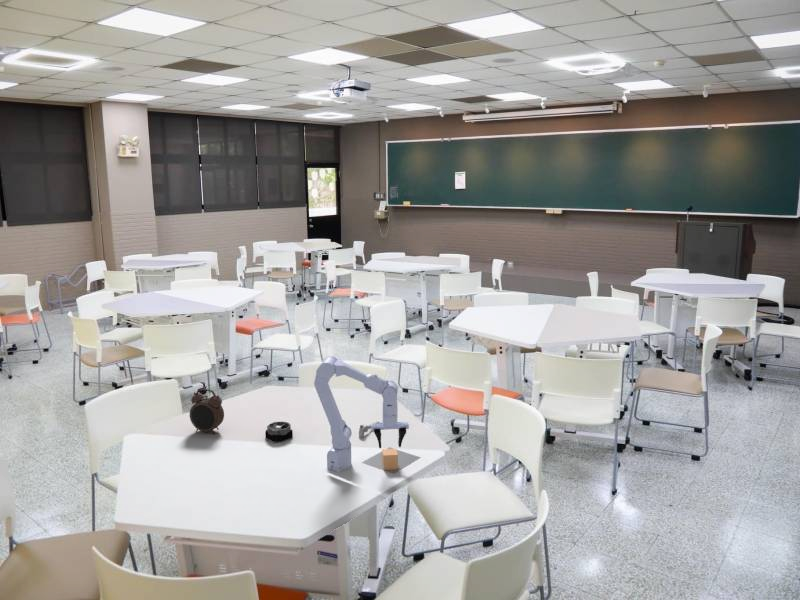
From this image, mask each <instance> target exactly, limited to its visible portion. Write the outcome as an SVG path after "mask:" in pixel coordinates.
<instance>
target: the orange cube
mask: <svg viewBox="0 0 800 600" xmlns="http://www.w3.org/2000/svg"><path fill="white" fill-rule="evenodd" d="M397 450H398V449H397V448H393V449H387V448H386V449H384V448H383V449H382V448H381V452H382V466H383V470H382V471H384V470H393V469H398V453H397Z"/></svg>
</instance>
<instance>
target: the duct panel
mask: <svg viewBox="0 0 800 600" xmlns="http://www.w3.org/2000/svg"><path fill="white" fill-rule="evenodd" d="M386 449H394V448H392V447H390V446H389V447H387V448H386ZM396 450H397V453H398V469H393V470H383V466H382V451H380V452H378V453H377V454H375V455H373V456H371V457H369V458H367V459H366V460H363V461H362V462H361V463H362V464H364V465H367V466H370V467H373V468H376V469H379V470H382V471H385V472H387V473H390V474H393V475H394V474H397V473H398V472H399V471H402V470H403V469H404V468H406V467H407V466H410V465H411V464H413V463H415V462H416V461H418V460H419V459H421V457H420V456H417V455H416V454H412V453H409V452H405V451H402V450H399V449H396Z"/></svg>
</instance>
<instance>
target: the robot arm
mask: <svg viewBox="0 0 800 600" xmlns="http://www.w3.org/2000/svg"><path fill="white" fill-rule="evenodd" d="M333 376H335V377H336V378H337V377H340V376H346V377H348V378H351V379H354V380H356V381H358V382H360V383H363V386H364V388H366V389H368V390H370V391H372V392H375V393H376V394H378V395H381V397H382V399H383V400H382V422H380V423H377V424H372V423H371V429H370V430H371V431H372V432H374V435H375V437H376V438H377V439H376V440H377V443H378V449H382V432H381V431H383V430H398V441H397V443H398V444H397V445H398V448H401V447H402V443H403V440H404V437H405V435H406V434H407V430H409V429H410V424H409V422H401V421H398V405H399V402H398V393H399V387H398V385H397V383H396V382H395V381H393V380H388V379H384V378H381V377H379V376H378V374H377V373H374V374H373V373H369V374H367V373H364V372H363V371H361V370H359V369H357V368H355V367H354V366H352V365H350V364H348V363H346V362H344V360H341V359H339V358H336V357H335V356H327V357H325V358H324V359H323V361H322V362H321V364H319V366H318V368H317V369H316V370H315V378H314V381H313V382H314V383H313V384H314V388H315V390H316V393H317V395H318V396H317V397H318V398H319V400H320V401H319V402H320V403H321V406H322V408H323V410H324V413H325V416H326V418H327V421H328V423H329V426H330V435H331V444H332V447H331V449H329V451H327V454H326V468H327V469H330V470H333V471H335V472H341V471H343V470H346V469H348V468H350V467H351V466H352V443H351V441H350V438H351V436H352V429H351V428H350V426H348V424H347V423H346V421H345V420H344V419H343V418H342V414H341V412H340V410H339V407H338V405H337V403H336V399H335V398H334V395H333V392H332V390H331V387H330V384H329V382H330V380H331V379H332V378H333Z"/></svg>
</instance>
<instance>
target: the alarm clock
mask: <svg viewBox="0 0 800 600" xmlns="http://www.w3.org/2000/svg"><path fill="white" fill-rule="evenodd" d="M201 391H206V392H210V393H212V395H211V396H210V397H209V396H208V395H204V394H202V393H199V392H201ZM190 402H191V403H192V406H191V408H190V409H189V419H190V422H191V424H192V426H194V427H195V429H196V430H195V432H196V433H198V431H200V432H205V433H206V432H212V433H213V435H216V433H215V431H214V430H215V429H216V430H217V431H218V430H220V428H218V427H219V426H220V425H221V424H222V423H223V421H224V419H225V410H224V407H223V406H222V403H223V401H222V398H221V397H220V396H219V395H217V394H216V393H215V391H214V390H213V389H209V388H200V389H198V390H197V391H194V392H193V395H192V397H191V401H190Z"/></svg>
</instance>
